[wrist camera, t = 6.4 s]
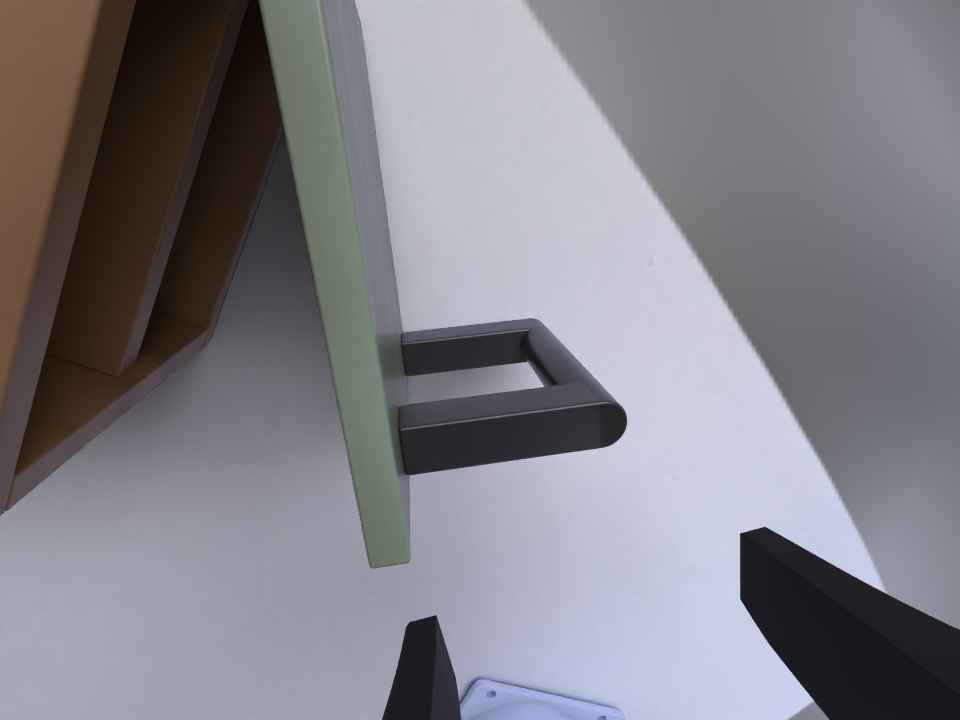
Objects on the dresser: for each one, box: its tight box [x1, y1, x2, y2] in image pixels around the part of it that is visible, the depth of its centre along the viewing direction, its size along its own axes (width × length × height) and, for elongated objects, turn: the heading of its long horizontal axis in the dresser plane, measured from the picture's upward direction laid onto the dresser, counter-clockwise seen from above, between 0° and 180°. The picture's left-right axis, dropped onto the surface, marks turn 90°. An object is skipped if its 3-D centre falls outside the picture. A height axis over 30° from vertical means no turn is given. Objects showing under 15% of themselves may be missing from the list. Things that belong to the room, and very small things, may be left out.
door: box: [259, 0, 627, 568], centre depth 13 cm, size 6×12×10 cm, turn 3°
